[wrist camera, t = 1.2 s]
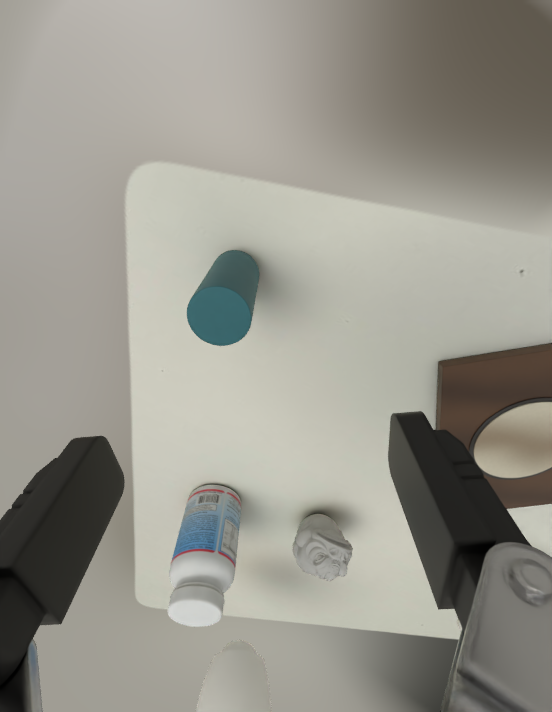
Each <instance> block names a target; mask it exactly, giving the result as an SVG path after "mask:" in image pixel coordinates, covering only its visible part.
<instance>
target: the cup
mask: <svg viewBox="0 0 552 712" xmlns="http://www.w3.org/2000/svg"><path fill="white" fill-rule="evenodd" d="M195 712H272V710H271V699H270V688H269V682H268V677H267V672H266V667H265V663H264V659H263V658H262V657H261V656H260V655H258V654H257V653H256V651H255V649H254V647H253V646H252V645H251V644H250V643H248V642H246V641H242V640H237V641H232V642H230V643H228V644H227V645H226V647H225V648H224V649H223V650H222V652H220V653H218V654H216V655H215V656H214V657H213V659H212V661H211V664H210V666H209V669H208V671H207V674H206V677H205V679H204V682H203V685H202V688H201V692H200V696H199V700H198V703H197V707H196V711H195Z"/></svg>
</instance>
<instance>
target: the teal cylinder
mask: <svg viewBox="0 0 552 712" xmlns="http://www.w3.org/2000/svg"><path fill="white" fill-rule="evenodd" d="M258 281H259V269H258V266H257V264H256V262H255V261H254V259H253V258H252V257H251V256H250V255H248V254H246V253H245V252H242V251H237V250H231V251H227V252H225V253H223V254H221V255H220V256H219V257H218V258H217V259H216V261H215V262H214V264H213V265H212V267H211V269H210V270H209V272H208V273H207V275H206V276H205V278H204V279H203V281H202V283H201V284H200V286H199V287H198V289H197V290H196V292H195V293H194V295H193V297H192V298H191V300H190V302H189V304H188V307H187V319H188V323H189V325H190V327H191V329H192V330H193V332H194V333H195V334H196V335H197V336H198V337H199V338H200V339H202V340H203V341H205V342H207V343H210V344H213V345H219V346H225V345H230V344H233V343H236V342H238V341H239V340H241V339H242V338H243V337H244V336H245V335H246V334H247V332H248V331H249V328H250V325H251V321H252V315H253V310H254V304H255V298H256V293H257V287H258Z"/></svg>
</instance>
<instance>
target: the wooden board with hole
mask: <svg viewBox="0 0 552 712" xmlns="http://www.w3.org/2000/svg"><path fill="white" fill-rule="evenodd" d="M444 429H446V430H447V431H448V432H450V433H451V434H452V435H453V436H455V437H456V438H457V439H459V440H460V441H461V442H462V443H463V444H464V445H465V447H466V448H467V450H468V451H469V453H470V454H471V456H472V457H473V459H474V462H475V464H477V465H478V467H479V468H480V470H481V471H482V473H483V474H484V478H486V479H487V480H488V482H489V483H490V485H491V486H492V488H493V490H494V491H495V493H496V494H497V496H498V497H499V499H500V500H501V502H502V503H503V505H504V506H505V508H506V509H509V508H518V507H527V506H536V505H544V504H552V343H551V344H545V345H539V346H532V347H526V348H520V349H514V350H507V351H501V352H495V353H488V354H482V355H476V356H470V357H463V358H457V359H451V360H444V361H439V364H438V390H437V416H436V430H444Z"/></svg>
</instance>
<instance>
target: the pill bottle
mask: <svg viewBox="0 0 552 712" xmlns="http://www.w3.org/2000/svg"><path fill="white" fill-rule="evenodd" d="M240 515H241V501H240V498H239V496H238V495H237V494H236V493H235V492H234V491H233V490H231V489H229V488H227V487H224V486H220V485H205V486H201V487H199V488H197V489H196V490H194V491H193V492H192V493H191V495H190V496H189V499H188V502H187V505H186V509H185V513H184V516H183V520H182V524H181V528H180V531H179V535H178V539H177V543H176V547H175V550H174V554H173V558H172V562H171V566H170V571H169V577H170V581H171V584H172V585H173V587H174V588H175V589H174V590H173V592H172V594H171V596H170V602H169V606H168V614H169V616H170V618H172V619H173V620H174V621H175V622H177V623H180V624H182V625H186V626H193V627H203V626H209V625H212V624H214V623H216V622H218V621H219V620H220V619H221V617H222V613H223V606H224V595H223V593H224V592H226V591H227V590H228V589H229V587H230V586H231V584H232V582H233V580H234V575H235V567H236V556H237V546H238V535H239V525H240Z"/></svg>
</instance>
